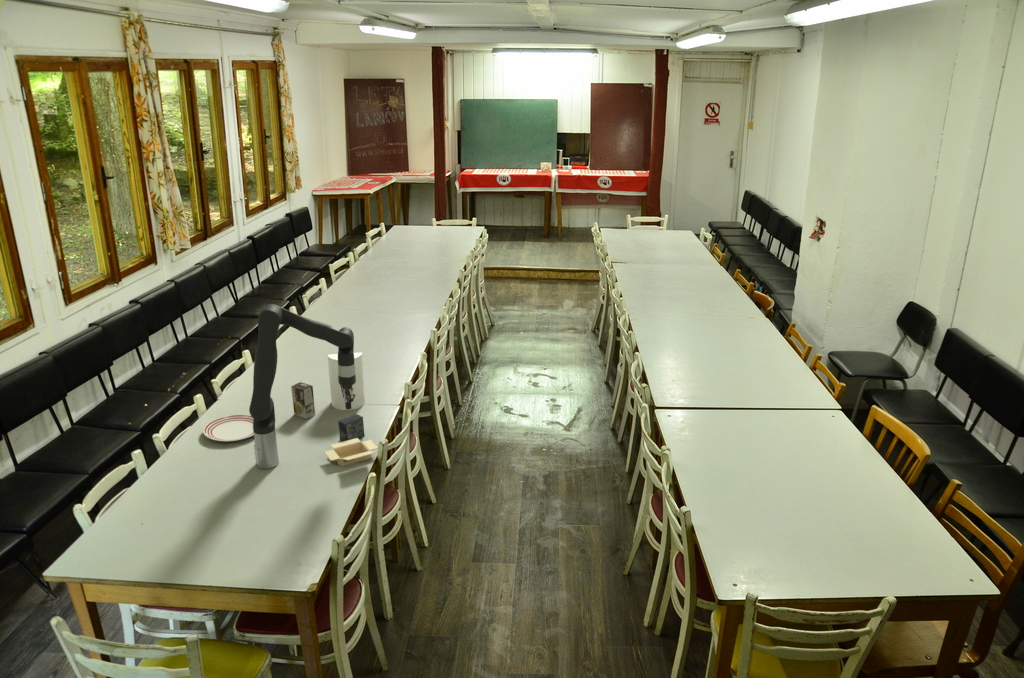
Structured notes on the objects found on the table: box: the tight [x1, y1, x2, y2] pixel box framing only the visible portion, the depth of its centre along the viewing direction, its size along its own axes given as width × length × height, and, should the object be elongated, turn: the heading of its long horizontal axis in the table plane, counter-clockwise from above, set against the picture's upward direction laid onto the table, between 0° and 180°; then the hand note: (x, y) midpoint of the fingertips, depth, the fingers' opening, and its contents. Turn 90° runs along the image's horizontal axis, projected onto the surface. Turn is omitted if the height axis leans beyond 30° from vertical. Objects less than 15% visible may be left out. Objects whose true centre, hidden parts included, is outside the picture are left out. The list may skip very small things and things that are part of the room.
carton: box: [323, 438, 379, 468], centre depth 348 cm, size 22×14×4 cm, turn 122°
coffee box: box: [290, 381, 316, 420], centre depth 383 cm, size 9×6×16 cm
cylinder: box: [327, 352, 366, 411], centre depth 394 cm, size 17×17×28 cm
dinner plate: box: [202, 413, 254, 443], centre depth 367 cm, size 28×27×3 cm
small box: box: [337, 413, 365, 442], centre depth 363 cm, size 11×6×10 cm, turn 141°
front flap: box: [342, 450, 377, 460], centre depth 337 cm, size 13×1×9 cm
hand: (348, 408), depth 336 cm, fingers closed
